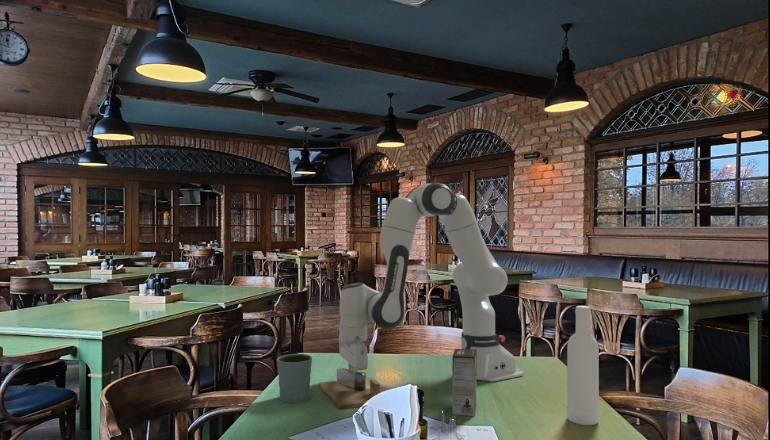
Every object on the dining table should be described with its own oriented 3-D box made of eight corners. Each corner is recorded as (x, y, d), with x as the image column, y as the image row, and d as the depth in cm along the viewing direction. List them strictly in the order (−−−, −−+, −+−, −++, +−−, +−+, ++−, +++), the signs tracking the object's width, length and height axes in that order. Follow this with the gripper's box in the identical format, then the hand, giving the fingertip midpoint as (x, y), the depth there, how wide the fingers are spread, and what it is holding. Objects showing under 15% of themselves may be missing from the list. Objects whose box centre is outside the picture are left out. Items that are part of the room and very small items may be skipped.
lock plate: (378, 379, 173) (378, 364, 173) (404, 401, 152) (405, 384, 152) (319, 385, 166) (319, 369, 167) (338, 409, 145) (338, 391, 145)
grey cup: (317, 395, 157) (317, 355, 157) (301, 406, 147) (301, 363, 147) (287, 391, 160) (287, 352, 160) (269, 401, 151) (270, 360, 151)
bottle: (562, 415, 142) (562, 304, 142) (589, 414, 142) (590, 304, 143) (575, 426, 134) (575, 308, 134) (604, 425, 134) (604, 308, 135)
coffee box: (454, 403, 150) (454, 347, 150) (476, 405, 149) (476, 349, 149) (451, 414, 141) (452, 355, 141) (475, 416, 140) (476, 356, 140)
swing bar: (368, 388, 159) (368, 373, 160) (358, 391, 157) (359, 375, 157) (344, 380, 168) (344, 365, 168) (335, 382, 166) (335, 367, 166)
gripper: (372, 339, 158) (372, 385, 158) (353, 327, 178) (353, 368, 177) (353, 341, 156) (352, 387, 156) (335, 328, 175) (335, 370, 175)
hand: (353, 377), depth 167 cm, fingers closed
